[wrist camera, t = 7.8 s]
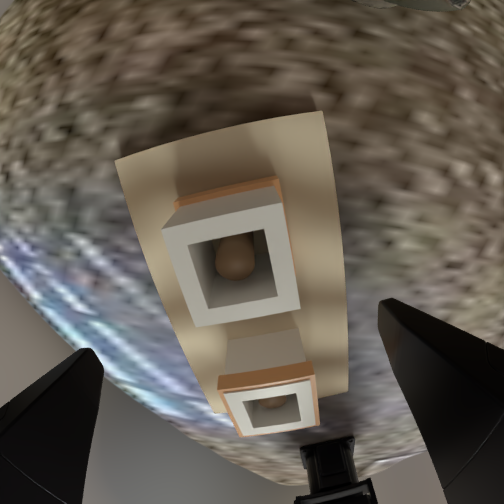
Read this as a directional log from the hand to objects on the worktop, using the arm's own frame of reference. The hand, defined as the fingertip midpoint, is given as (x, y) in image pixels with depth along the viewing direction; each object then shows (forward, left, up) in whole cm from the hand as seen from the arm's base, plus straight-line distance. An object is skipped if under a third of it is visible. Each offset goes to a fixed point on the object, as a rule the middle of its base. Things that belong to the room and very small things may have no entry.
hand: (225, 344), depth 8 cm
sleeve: (0, 0, -10) cm, 10 cm away
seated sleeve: (-10, 0, -10) cm, 14 cm away
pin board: (-5, 0, -11) cm, 12 cm away
